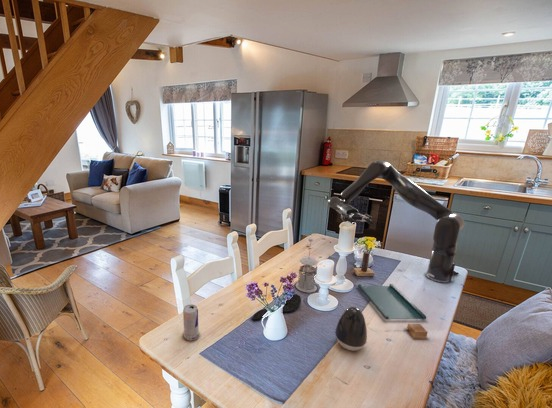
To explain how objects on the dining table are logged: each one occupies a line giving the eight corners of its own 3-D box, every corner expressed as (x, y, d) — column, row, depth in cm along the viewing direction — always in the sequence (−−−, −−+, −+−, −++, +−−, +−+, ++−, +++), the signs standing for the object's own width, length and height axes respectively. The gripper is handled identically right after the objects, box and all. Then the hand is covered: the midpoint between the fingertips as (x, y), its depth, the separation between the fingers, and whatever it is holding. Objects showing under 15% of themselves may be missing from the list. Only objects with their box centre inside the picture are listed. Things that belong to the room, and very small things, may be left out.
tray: (357, 288, 145) (358, 283, 144) (391, 288, 145) (392, 283, 144) (384, 321, 122) (385, 316, 121) (425, 321, 122) (426, 316, 121)
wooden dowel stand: (353, 273, 158) (356, 250, 154) (368, 273, 158) (372, 250, 154) (357, 278, 153) (361, 254, 149) (373, 278, 153) (377, 254, 149)
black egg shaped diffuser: (328, 343, 111) (332, 307, 106) (343, 331, 117) (348, 296, 112) (355, 360, 103) (361, 322, 99) (370, 346, 109) (376, 310, 105)
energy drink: (200, 332, 116) (200, 305, 113) (195, 342, 111) (194, 314, 108) (187, 329, 118) (186, 302, 114) (181, 339, 113) (180, 311, 110)
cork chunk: (406, 330, 117) (407, 323, 116) (418, 330, 117) (419, 323, 116) (413, 338, 113) (415, 331, 112) (426, 338, 113) (427, 331, 112)
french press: (318, 284, 148) (323, 236, 141) (314, 296, 138) (319, 246, 131) (298, 279, 153) (302, 232, 146) (292, 291, 143) (296, 241, 136)
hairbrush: (246, 308, 126) (292, 288, 137) (247, 316, 127) (291, 295, 138) (259, 320, 119) (306, 298, 130) (259, 327, 120) (305, 305, 132)
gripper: (336, 206, 170) (349, 215, 155) (362, 206, 170) (377, 215, 155) (335, 218, 173) (347, 229, 157) (360, 218, 172) (375, 229, 157)
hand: (362, 222), depth 156 cm, fingers open, 8 cm apart
